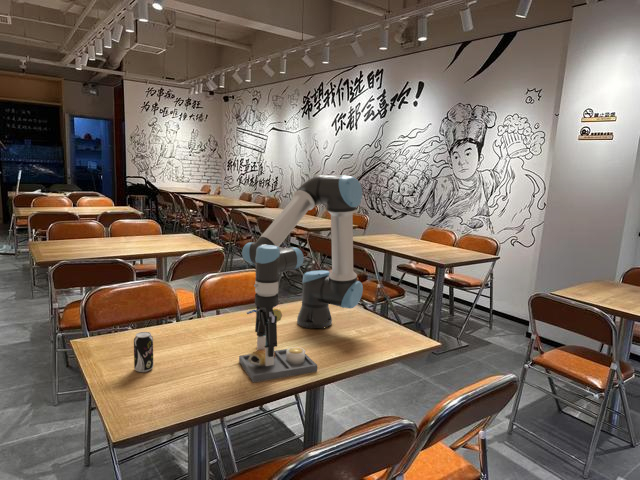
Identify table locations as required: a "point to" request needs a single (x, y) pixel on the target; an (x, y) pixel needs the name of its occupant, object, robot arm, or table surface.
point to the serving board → (280, 365)
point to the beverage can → (143, 352)
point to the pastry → (258, 357)
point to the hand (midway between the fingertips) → (265, 359)
